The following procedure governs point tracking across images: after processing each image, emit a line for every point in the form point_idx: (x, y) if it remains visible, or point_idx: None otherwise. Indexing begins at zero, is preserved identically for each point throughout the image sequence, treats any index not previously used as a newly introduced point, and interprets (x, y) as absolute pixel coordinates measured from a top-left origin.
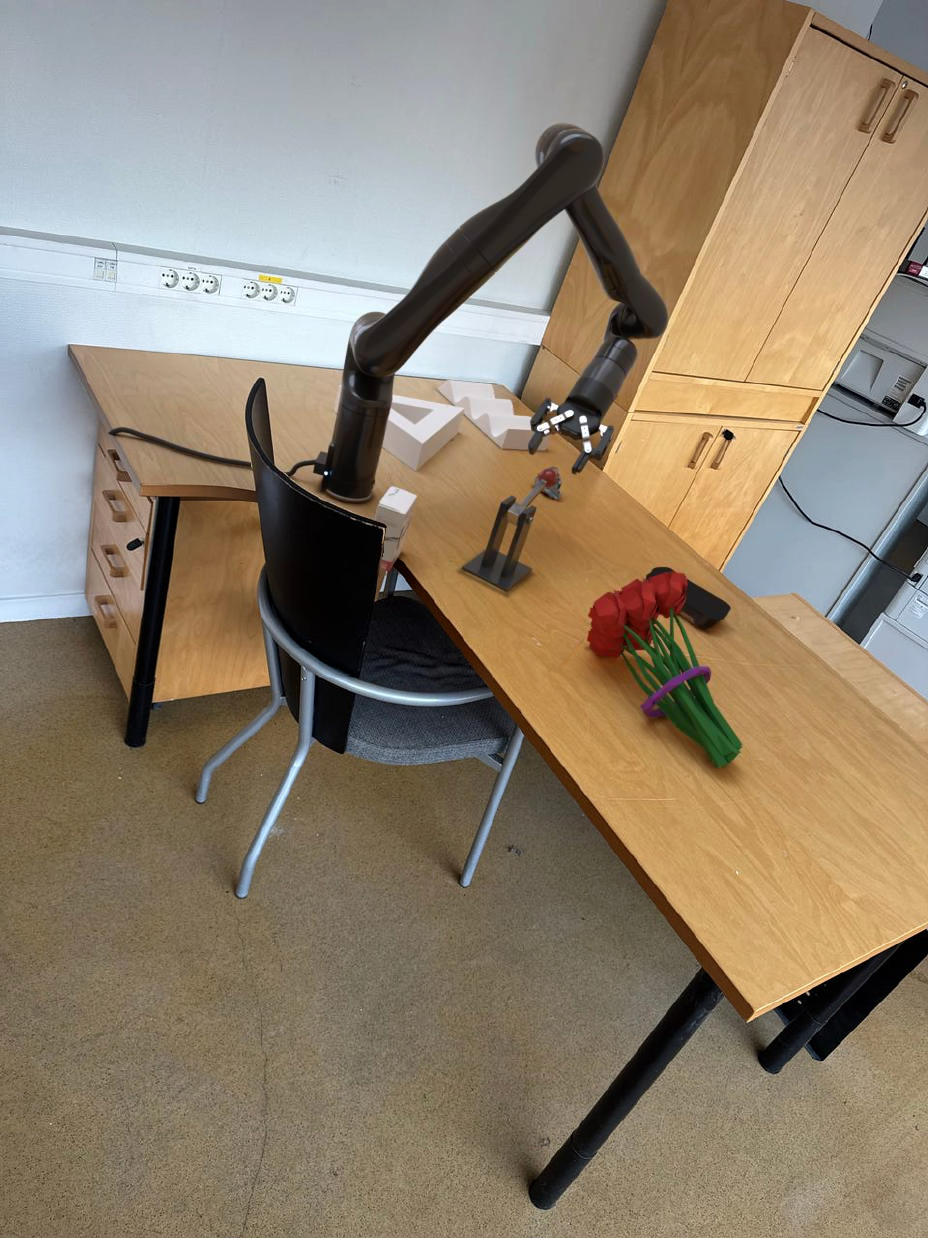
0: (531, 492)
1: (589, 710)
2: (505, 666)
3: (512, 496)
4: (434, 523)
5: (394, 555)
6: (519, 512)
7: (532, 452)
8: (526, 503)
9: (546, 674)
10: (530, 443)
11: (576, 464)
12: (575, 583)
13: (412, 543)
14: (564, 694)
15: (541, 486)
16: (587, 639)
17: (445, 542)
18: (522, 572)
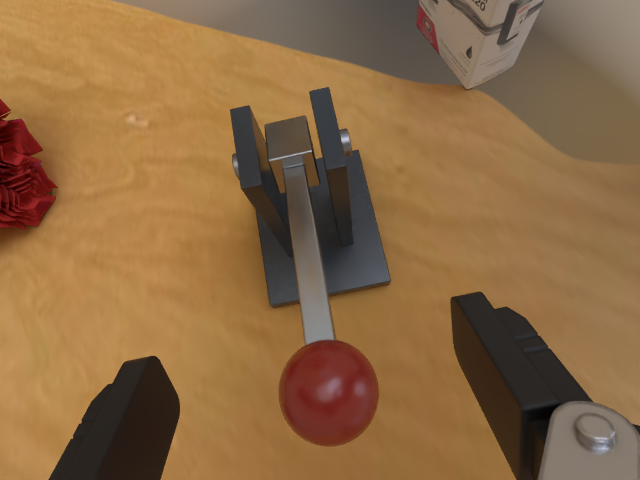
0: (312, 241)
1: (6, 66)
2: (140, 32)
3: (339, 160)
4: (556, 262)
5: (424, 2)
6: (271, 132)
7: (452, 319)
8: (288, 190)
9: (86, 71)
10: (511, 324)
11: (122, 379)
12: (183, 389)
13: (493, 142)
14: (47, 61)
15: (303, 296)
16: (40, 147)
17: (468, 218)
18: (271, 263)
